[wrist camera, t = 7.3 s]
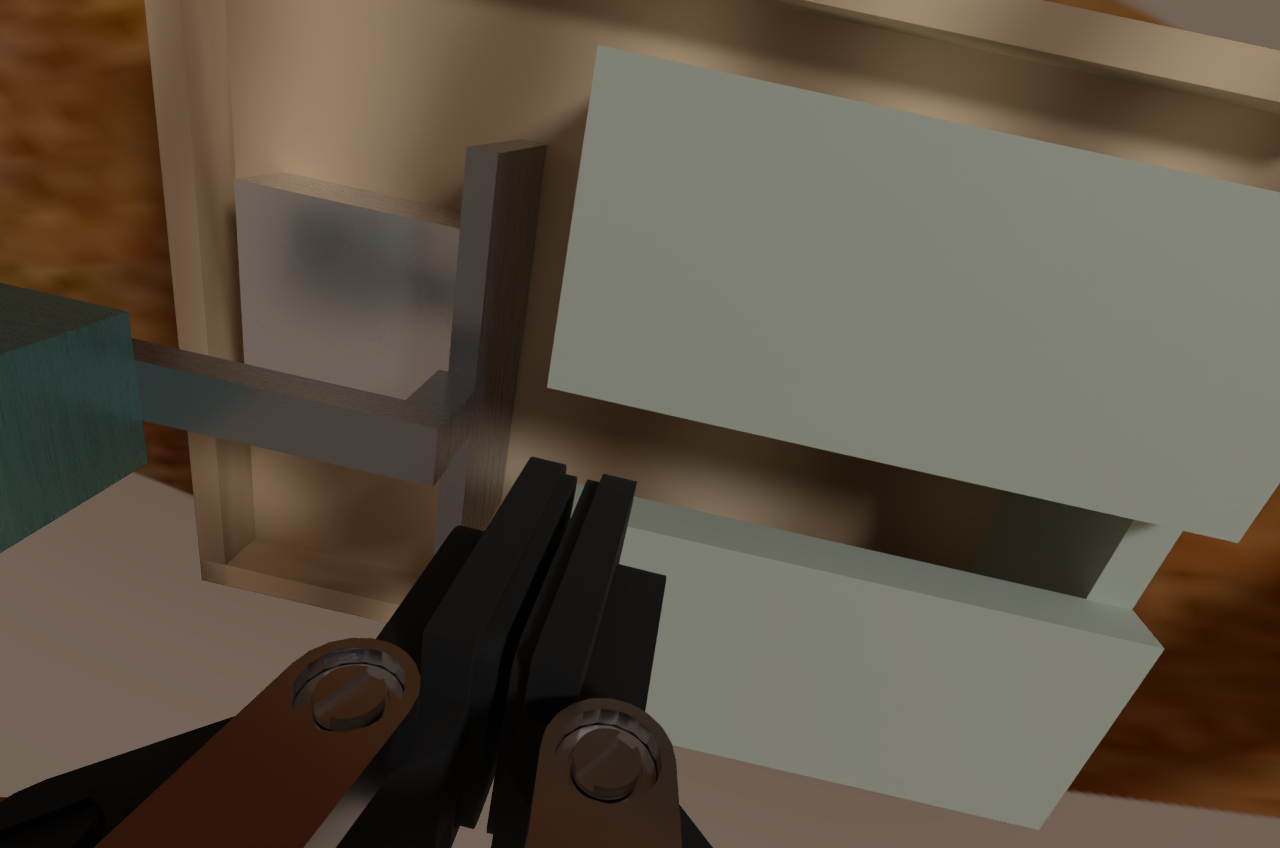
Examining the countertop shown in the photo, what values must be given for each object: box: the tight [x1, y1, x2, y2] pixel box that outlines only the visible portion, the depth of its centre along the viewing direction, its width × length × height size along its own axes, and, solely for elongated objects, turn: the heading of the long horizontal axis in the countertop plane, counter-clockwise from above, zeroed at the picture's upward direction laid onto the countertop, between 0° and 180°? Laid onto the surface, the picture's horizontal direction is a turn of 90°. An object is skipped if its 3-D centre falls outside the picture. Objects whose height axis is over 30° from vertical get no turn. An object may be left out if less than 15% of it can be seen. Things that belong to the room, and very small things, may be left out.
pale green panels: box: [547, 45, 1280, 830], centre depth 16 cm, size 13×14×6 cm
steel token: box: [234, 172, 461, 400], centre depth 18 cm, size 6×6×2 cm
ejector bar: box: [0, 139, 547, 557], centre depth 14 cm, size 8×10×10 cm
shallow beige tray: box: [145, 0, 1280, 623], centre depth 21 cm, size 27×19×8 cm
